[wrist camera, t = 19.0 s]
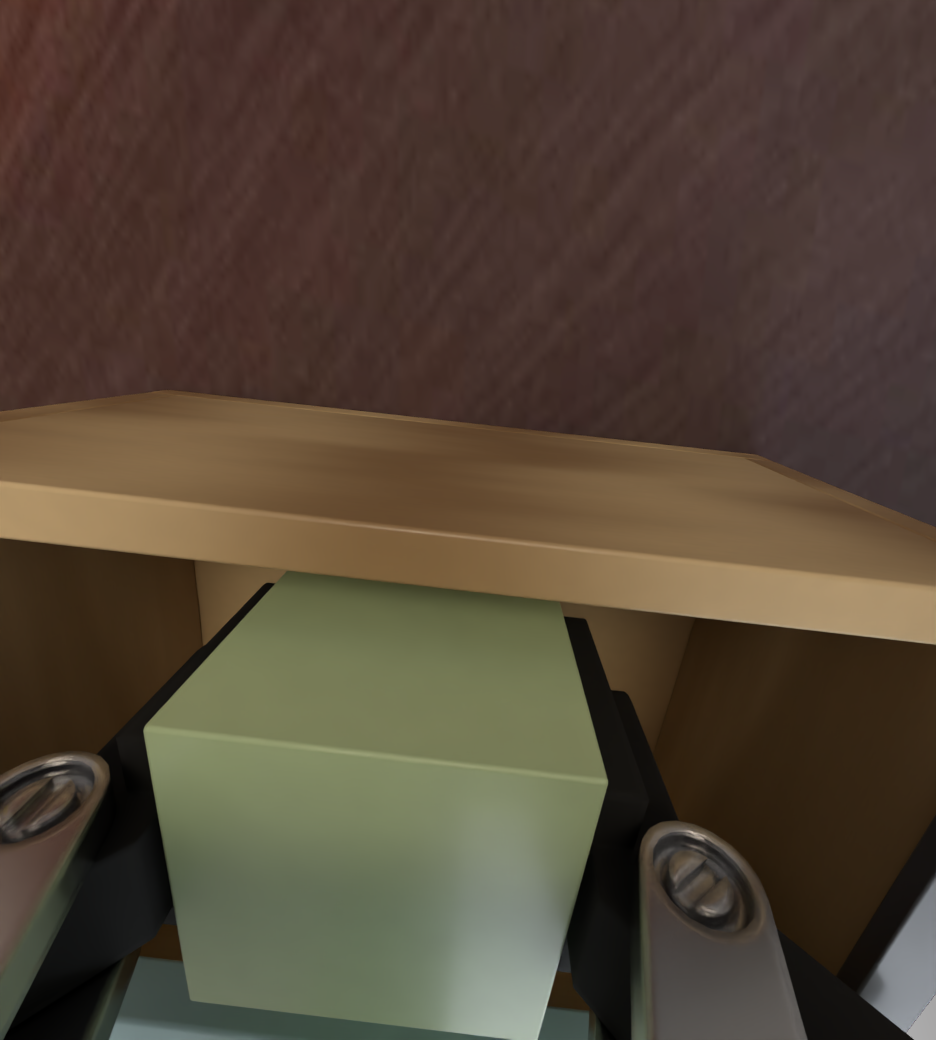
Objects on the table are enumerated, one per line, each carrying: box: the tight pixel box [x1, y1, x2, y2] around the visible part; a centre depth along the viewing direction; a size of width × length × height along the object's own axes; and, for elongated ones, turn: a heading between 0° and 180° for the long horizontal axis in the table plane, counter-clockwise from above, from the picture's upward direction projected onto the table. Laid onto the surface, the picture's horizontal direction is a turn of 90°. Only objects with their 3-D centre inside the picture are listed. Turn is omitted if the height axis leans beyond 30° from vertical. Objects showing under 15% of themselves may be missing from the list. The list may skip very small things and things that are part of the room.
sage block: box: [143, 571, 608, 1040], centre depth 8 cm, size 5×5×5 cm
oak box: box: [0, 390, 936, 1033], centre depth 12 cm, size 18×14×9 cm
